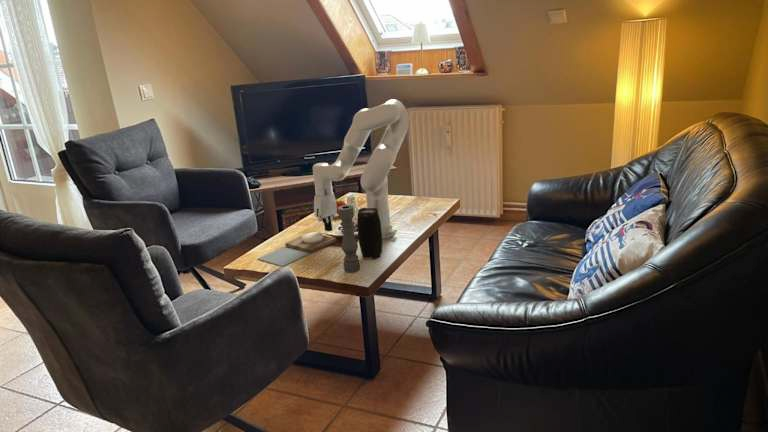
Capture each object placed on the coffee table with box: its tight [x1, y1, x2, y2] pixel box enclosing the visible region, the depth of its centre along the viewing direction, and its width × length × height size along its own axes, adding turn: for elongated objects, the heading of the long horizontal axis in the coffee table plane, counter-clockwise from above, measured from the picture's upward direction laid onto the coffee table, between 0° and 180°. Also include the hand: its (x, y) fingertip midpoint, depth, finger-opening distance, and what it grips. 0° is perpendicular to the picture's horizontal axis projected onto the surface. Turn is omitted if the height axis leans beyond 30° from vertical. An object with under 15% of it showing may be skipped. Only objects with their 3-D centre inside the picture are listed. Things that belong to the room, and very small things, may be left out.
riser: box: [284, 232, 337, 254], centre depth 242 cm, size 16×15×2 cm
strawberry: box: [335, 196, 347, 216], centre depth 276 cm, size 6×8×10 cm
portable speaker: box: [356, 207, 383, 260], centre depth 220 cm, size 9×9×20 cm
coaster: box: [301, 231, 324, 243], centre depth 242 cm, size 9×9×2 cm
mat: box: [257, 246, 311, 267], centre depth 231 cm, size 16×15×1 cm
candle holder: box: [337, 204, 361, 274], centre depth 208 cm, size 6×6×25 cm
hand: (328, 230), depth 249 cm, fingers closed
